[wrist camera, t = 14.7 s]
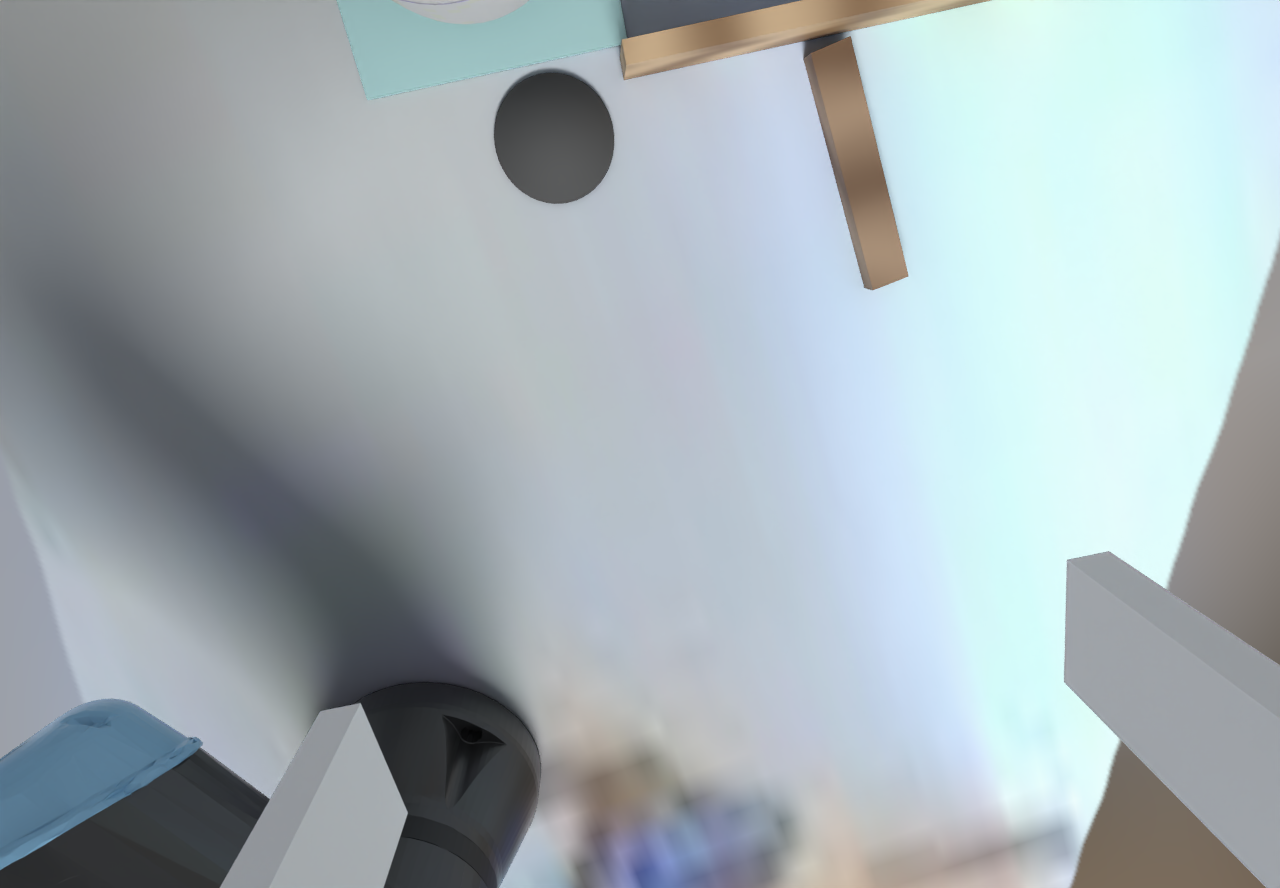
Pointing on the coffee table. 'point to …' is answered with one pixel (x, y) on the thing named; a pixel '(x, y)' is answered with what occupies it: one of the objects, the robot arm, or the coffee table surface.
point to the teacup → (462, 9)
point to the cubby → (765, 31)
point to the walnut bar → (856, 163)
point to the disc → (554, 138)
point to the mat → (470, 41)
